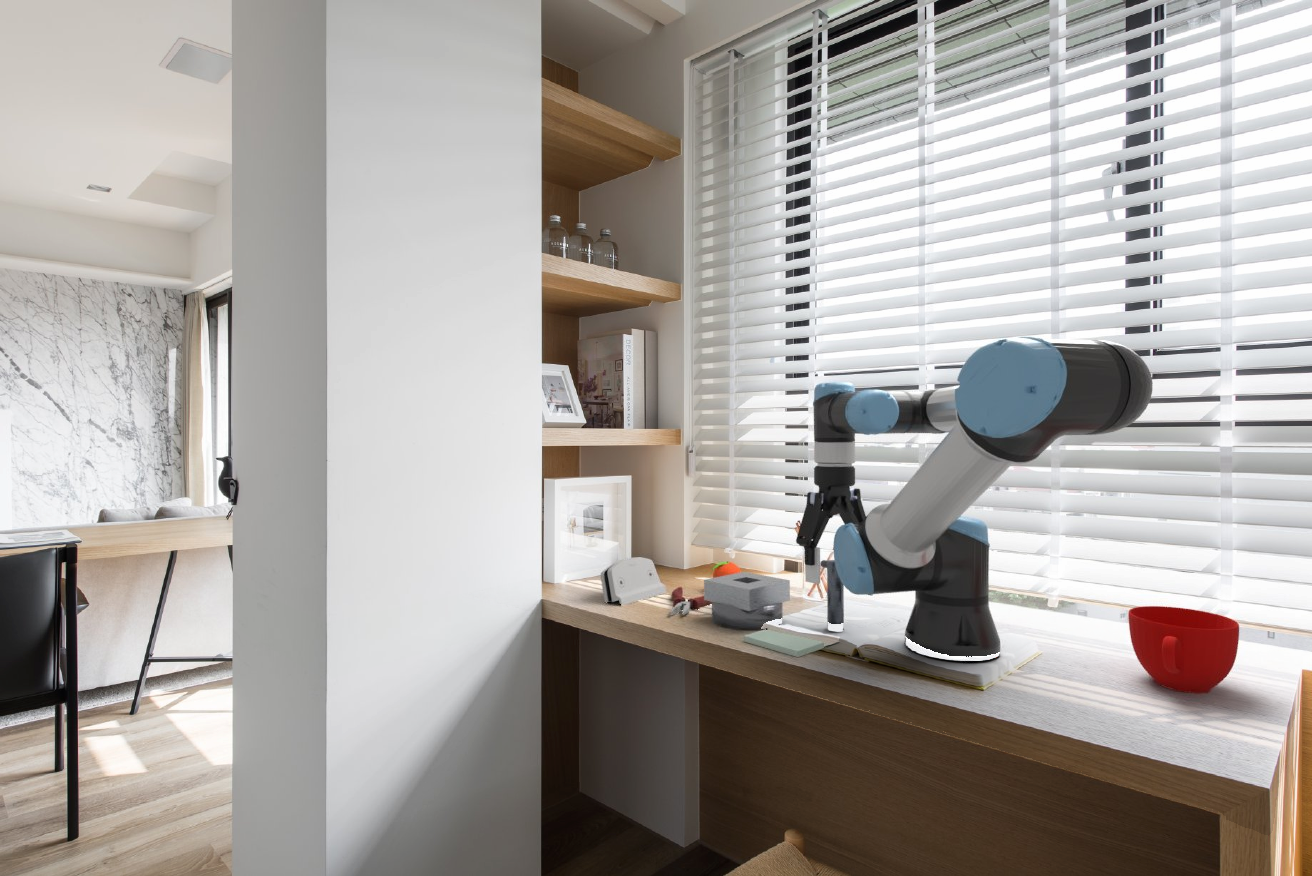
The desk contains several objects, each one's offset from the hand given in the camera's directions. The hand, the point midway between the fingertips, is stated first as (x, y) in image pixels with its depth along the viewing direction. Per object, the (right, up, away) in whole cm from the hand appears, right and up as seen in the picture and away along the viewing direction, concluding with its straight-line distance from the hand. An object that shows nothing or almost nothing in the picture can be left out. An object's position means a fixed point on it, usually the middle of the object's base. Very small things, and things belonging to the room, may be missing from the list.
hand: (834, 577), depth 132 cm
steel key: (0, -10, 0) cm, 10 cm away
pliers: (-28, -11, +20) cm, 36 cm away
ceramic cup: (+42, -10, -31) cm, 53 cm away
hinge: (-39, -10, +28) cm, 49 cm away
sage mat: (-10, -10, -7) cm, 16 cm away
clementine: (-17, -10, +32) cm, 38 cm away
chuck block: (-16, -10, +7) cm, 20 cm away
